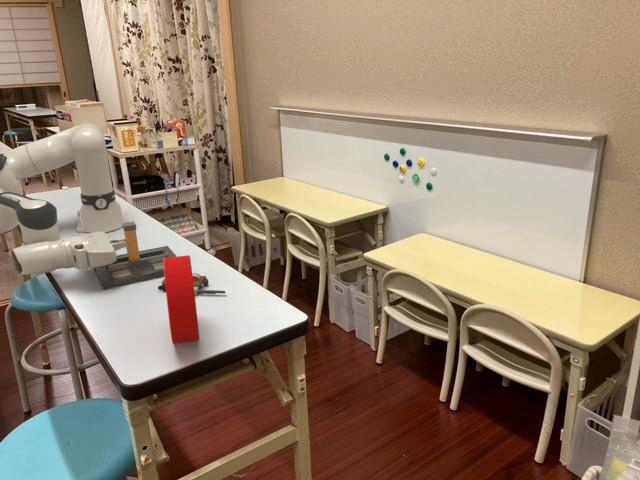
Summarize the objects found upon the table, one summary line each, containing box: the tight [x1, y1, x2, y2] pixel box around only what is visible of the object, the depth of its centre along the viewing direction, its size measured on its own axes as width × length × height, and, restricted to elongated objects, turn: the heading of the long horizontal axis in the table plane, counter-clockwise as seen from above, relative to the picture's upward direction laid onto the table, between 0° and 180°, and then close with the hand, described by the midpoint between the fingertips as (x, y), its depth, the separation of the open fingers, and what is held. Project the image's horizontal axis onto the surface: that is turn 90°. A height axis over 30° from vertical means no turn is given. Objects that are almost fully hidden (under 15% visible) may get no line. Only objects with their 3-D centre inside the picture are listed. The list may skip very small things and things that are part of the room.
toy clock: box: [164, 254, 200, 345], centre depth 118 cm, size 20×6×20 cm, turn 17°
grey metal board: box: [93, 245, 178, 291], centre depth 158 cm, size 20×24×4 cm
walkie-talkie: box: [157, 272, 226, 297], centre depth 145 cm, size 9×4×20 cm
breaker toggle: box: [121, 221, 140, 261], centre depth 155 cm, size 3×3×13 cm
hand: (126, 242), depth 153 cm, fingers closed, pressing on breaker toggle
